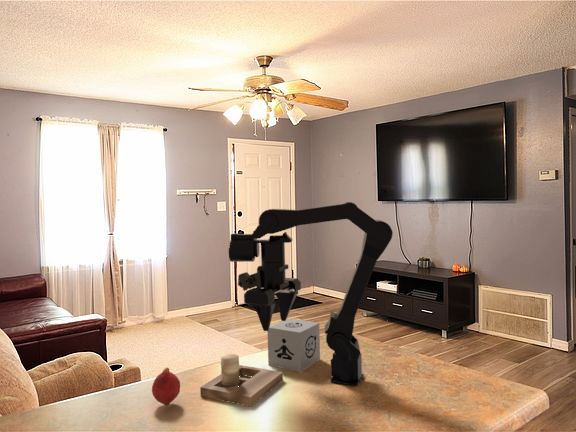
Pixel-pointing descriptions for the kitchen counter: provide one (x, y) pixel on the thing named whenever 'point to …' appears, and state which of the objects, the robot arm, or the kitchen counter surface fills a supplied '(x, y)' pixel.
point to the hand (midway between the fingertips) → (274, 325)
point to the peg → (230, 371)
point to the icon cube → (293, 344)
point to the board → (244, 386)
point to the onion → (166, 387)
